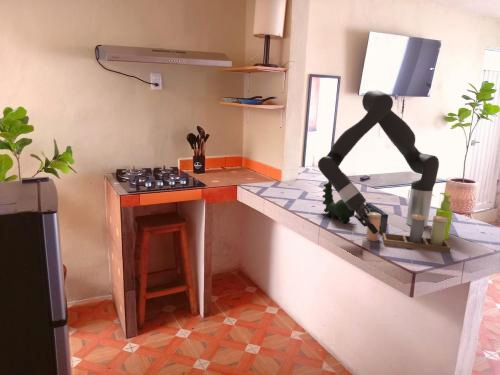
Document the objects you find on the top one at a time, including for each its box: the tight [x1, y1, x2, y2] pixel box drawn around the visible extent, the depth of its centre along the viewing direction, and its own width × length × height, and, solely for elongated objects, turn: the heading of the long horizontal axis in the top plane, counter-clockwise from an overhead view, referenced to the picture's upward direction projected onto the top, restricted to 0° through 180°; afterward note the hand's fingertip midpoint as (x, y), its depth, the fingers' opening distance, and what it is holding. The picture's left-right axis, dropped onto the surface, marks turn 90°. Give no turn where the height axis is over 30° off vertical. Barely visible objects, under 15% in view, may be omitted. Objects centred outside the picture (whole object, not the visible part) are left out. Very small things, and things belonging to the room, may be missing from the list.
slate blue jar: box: [408, 214, 426, 244], centre depth 149 cm, size 5×5×12 cm
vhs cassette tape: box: [365, 202, 389, 235], centre depth 169 cm, size 18×3×10 cm, turn 4°
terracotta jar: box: [365, 212, 381, 242], centre depth 154 cm, size 5×5×12 cm
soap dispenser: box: [435, 192, 454, 241], centre depth 158 cm, size 6×7×20 cm
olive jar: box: [429, 215, 447, 246], centre depth 147 cm, size 5×5×12 cm
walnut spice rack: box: [381, 232, 452, 254], centre depth 150 cm, size 8×24×4 cm, turn 76°
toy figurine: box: [321, 180, 356, 224], centre depth 182 cm, size 9×19×25 cm
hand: (377, 230), depth 153 cm, fingers closed on terracotta jar, 4 cm apart
